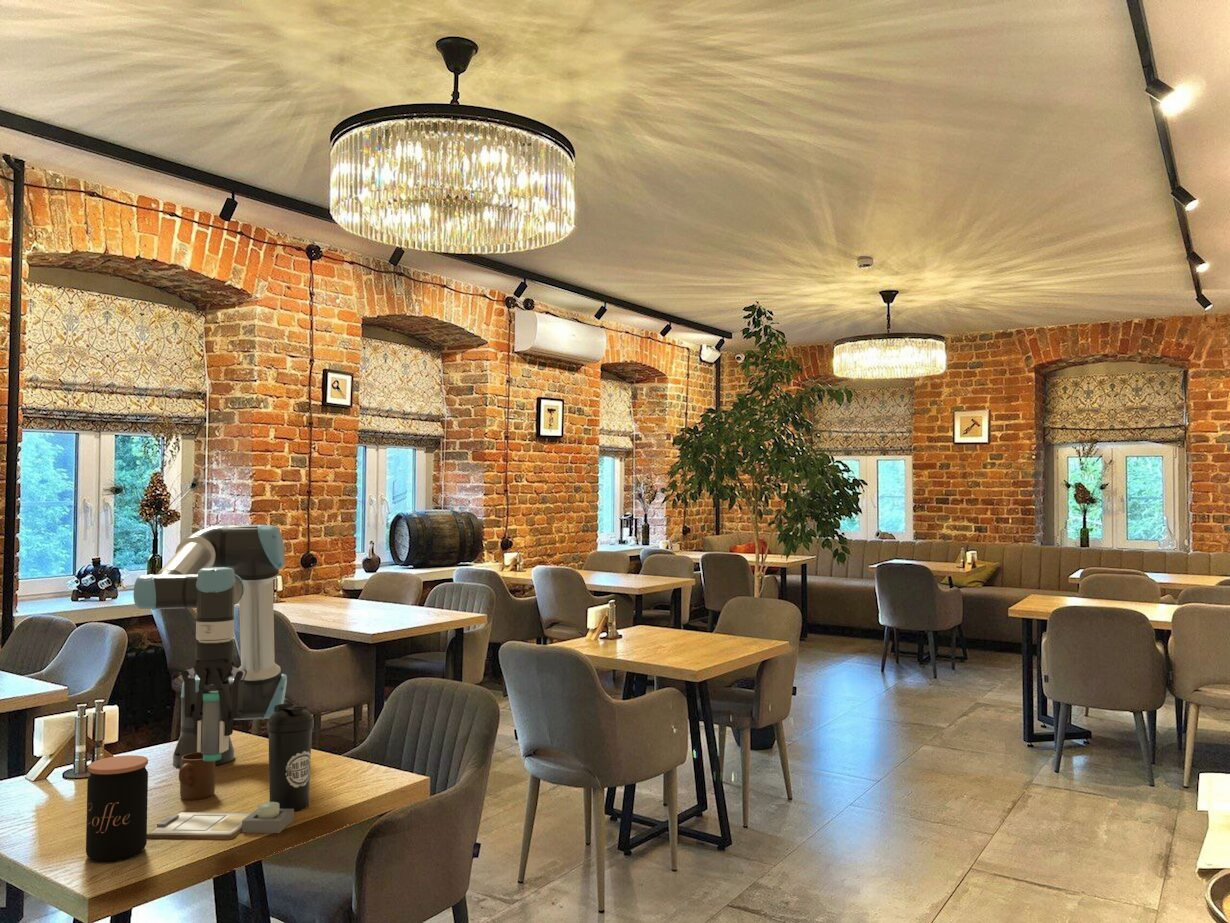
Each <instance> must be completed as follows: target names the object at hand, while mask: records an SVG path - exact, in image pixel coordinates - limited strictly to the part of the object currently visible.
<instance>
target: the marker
mask: <svg viewBox="0 0 1230 923" xmlns="http://www.w3.org/2000/svg"><path fill="white" fill-rule="evenodd" d="M222 719H223V714H222V709H221V703H220V698H219V693H218V691H209V692H206V693H203V715H202V754H203V761H217V760H220V759H221V753H219V734H220V721H222Z"/></svg>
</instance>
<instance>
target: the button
mask: <svg viewBox="0 0 1230 923" xmlns="http://www.w3.org/2000/svg"><path fill="white" fill-rule="evenodd" d="M257 809H258V812H257V818H269V819H275V818H276V817H278V816H279V803H278V802H270V801H266V802H261V803H260V804H258V805H257Z"/></svg>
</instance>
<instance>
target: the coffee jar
mask: <svg viewBox="0 0 1230 923" xmlns="http://www.w3.org/2000/svg"><path fill="white" fill-rule="evenodd" d="M148 764H149V759H148V757H146V756H143V755H137V754H136V755H133V754H132V755H131V754H130V755H129V754H128V755H117V756H109V757H106V758H101V759H97V760H95V761H92V762H90V763H89V764H88V765H87V771H88V772H89V773H90V775H89V776H88V777H87V781H86V782H87V783H86V784H87V785H86V786H87V788H86V828H85V830H86V832H85V853H86V856H87V858H88V859H89V860H90V861H91V862H93V863H98V864H111V863H112V864H113V863H117V862H118V863H119V862H124V861H127V860H130V859H133V858H135V857H138V856H140V854H142V853H143V850H145V848H146V846H147V841H148V840H147V839H148V838H147V833H148V800H149V799H148V796H149V795H148V793H149V792H148V791H149V786H148V784H149V771H148V770H147V768H146V767H147V765H148Z"/></svg>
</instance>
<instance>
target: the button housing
mask: <svg viewBox="0 0 1230 923" xmlns="http://www.w3.org/2000/svg"><path fill="white" fill-rule="evenodd" d="M257 812H258V808H255V810H254V811H252V812H250V813H251V814H250V815H249V816H247V817H246V818H245V819H243V820H242V831H241V833H242V834H243V833H244V832H246V833H245V834H247V833H248V834H251V833H252V834H253V833H254V834H255V833H257V834H280V833H281V832H282V831H283V830H285V828H287V827H288V826H289V825H290V824H291V823H292V822H294V820H295V819H294V818H295V817H294V816H295V814H294V813H295V812H294V809H279V816H278V817H276V818H275V819H269V818H257Z"/></svg>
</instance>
